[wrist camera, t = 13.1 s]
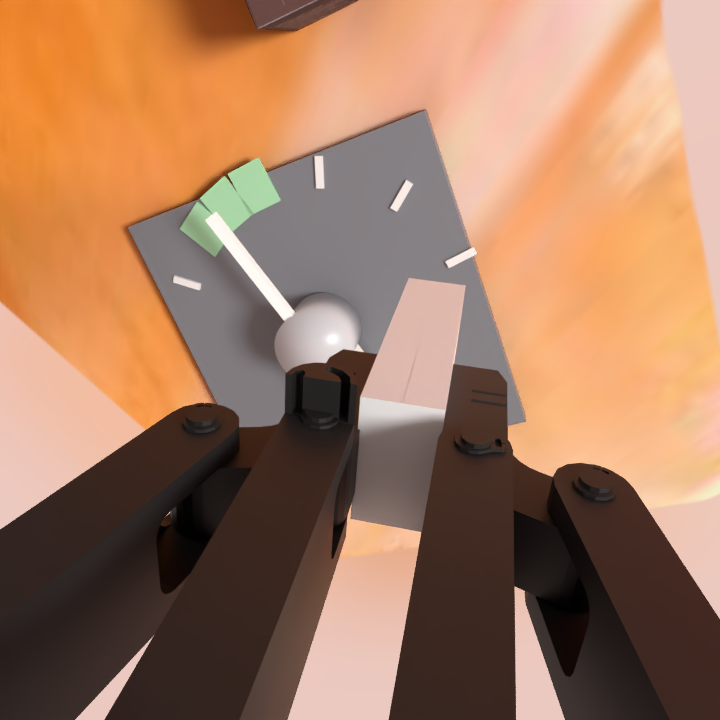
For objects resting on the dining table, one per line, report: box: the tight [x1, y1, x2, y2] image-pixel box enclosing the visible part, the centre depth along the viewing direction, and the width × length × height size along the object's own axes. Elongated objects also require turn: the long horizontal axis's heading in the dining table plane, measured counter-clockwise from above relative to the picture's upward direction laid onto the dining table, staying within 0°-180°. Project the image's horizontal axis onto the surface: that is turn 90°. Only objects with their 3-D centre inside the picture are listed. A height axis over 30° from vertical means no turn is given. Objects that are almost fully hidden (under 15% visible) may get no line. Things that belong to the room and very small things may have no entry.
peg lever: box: [205, 212, 364, 372], centre depth 45 cm, size 21×5×4 cm, turn 37°
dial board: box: [128, 110, 526, 427], centre depth 47 cm, size 23×22×1 cm
